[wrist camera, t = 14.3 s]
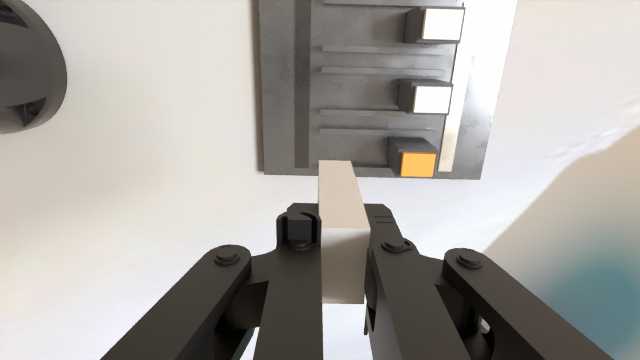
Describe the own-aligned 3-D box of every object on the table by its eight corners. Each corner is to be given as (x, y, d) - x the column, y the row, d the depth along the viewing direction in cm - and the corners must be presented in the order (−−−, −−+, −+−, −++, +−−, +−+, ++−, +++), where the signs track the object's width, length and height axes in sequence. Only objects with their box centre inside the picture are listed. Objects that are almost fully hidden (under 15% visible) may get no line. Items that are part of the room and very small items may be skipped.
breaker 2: (396, 106, 38) (409, 115, 33) (400, 78, 37) (413, 83, 32) (432, 107, 38) (451, 116, 33) (436, 79, 37) (456, 84, 32)
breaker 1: (403, 43, 36) (418, 42, 31) (407, 11, 35) (422, 4, 29) (441, 44, 36) (463, 43, 31) (446, 12, 35) (469, 6, 30)
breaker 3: (386, 162, 40) (397, 178, 35) (389, 137, 39) (400, 150, 34) (420, 162, 40) (435, 179, 35) (424, 137, 39) (440, 151, 34)
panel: (265, 171, 42) (262, 178, 40) (259, -14, 35) (255, -18, 33) (476, 176, 42) (484, 183, 40) (513, -6, 35) (525, -10, 33)
